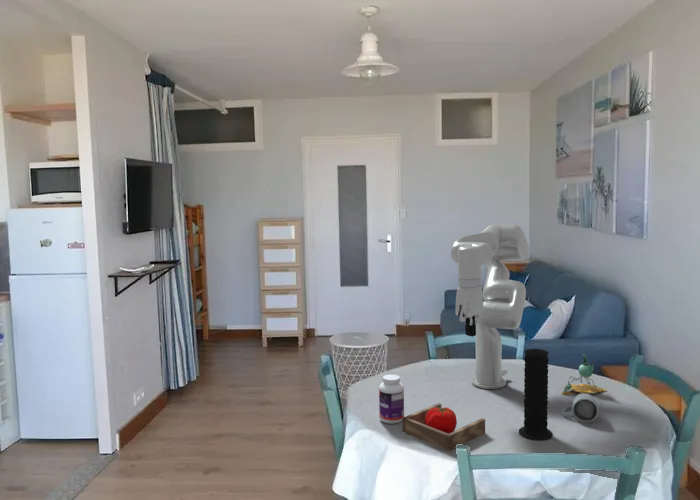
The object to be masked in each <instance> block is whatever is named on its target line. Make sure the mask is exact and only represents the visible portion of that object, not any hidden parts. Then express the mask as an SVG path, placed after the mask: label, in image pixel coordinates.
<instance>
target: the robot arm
mask: <svg viewBox="0 0 700 500" xmlns="http://www.w3.org/2000/svg"><path fill="white" fill-rule="evenodd" d="M529 250H530V247H529V243H528V241H527V237H526V236H525V233H524V231H523V229H522V227H521V226H520V225H518V224H515V223H513V224H512V223H510V224H509V223H508V224H507V223H505V224H503V223H502V224H501V223H494V224H490V225H488V226H487V227H486V228H485V229H483V230H482V231H481V232H478V233H477V232H476V233H473V234H470V235H469V234H468V235H465V236H461V237H459V238H458V239H457V240H455V242H454V243H453V244H452V246H451V249H450V257H451V259H452V261H453V262H454V263H456V264H457V277H458V281H457V283H458V284H457V285H458V287H457V289H456V296H455V316H456V317H459V319H458V320H459V322H460V323H464V324H463V325H464V327H465V335H466V336H468V337H472V338H473V337H475V376H474V377H473V378H471V384H472V386H474V387H476V388H479V389H485V390H495V389H502V388H504V387H505V386H506V383H507V382H506V380H505V379H504V378H503V376H506V375H507V374H508V370H507V369H506V368H504V369H502V355H503V354H502V351H503V350H502V347H503V345H502V342H503V341H502V337H501V334H500V332H499V330H497V329H503V330H505V329H506V330H516V329H518V328H519V327H520V325H521V322H522V318H523V312H524V308H525V304H526V298H527V297H526V295H527V289H526V286H525V284H524V283H523V282H521V281H519V280H509V279H510V275H511V274H510V270H509V269H508V268H507V266H506V265H505V264H504V263H503V262H502V261H515V262H516V261H524V260H526V259H527V258H528V256H529V252H530V251H529ZM482 265H483V266H484V265H486V269H487V273H486V274H487V275H486V277H485V281H484V284H483V285H484V286H483V287H482Z"/></svg>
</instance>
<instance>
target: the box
mask: <svg viewBox="0 0 700 500" xmlns="http://www.w3.org/2000/svg"><path fill="white" fill-rule="evenodd" d="M438 407H439V408H442V403H439V402H438V403H435V404H433V405H430V406H428V407H426V408H423V409H420V410H417V411H416V412H414V413H412V414H411V413H410V414H408V415H406V416H404V417H403V418H402V421H401V424H402V425H401V426H402V433H404V432H405V434H406V433H407V435H409V436H411V435H412V437H414V438H417V439H419V440H421V441H423V442H425V443H428V444H430V445H432V446H436V447H438V448H440V449H442V450H444V451H447V452H451V451H452V450H455V449H456V448H455V447H456V445H457V444H463V445H465V444H467V443H469V442H471V441H473V440H476V439H477V438H479V437H480V436H483V435H484V434H486V418H483V417H481V418H479V419H477V420H475V421H473V422H470V423H469V424H466V425H465V426H462V427H460V428H458V429H455V430H454V431H453V432H451V433H449V434H448V433H445V432H442V431H440V430H437V429H435V428H432V427H430V426H427V425H425V417H426V415H427V412H429V411H430V410H431V409H433V408H438Z"/></svg>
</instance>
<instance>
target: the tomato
mask: <svg viewBox="0 0 700 500" xmlns="http://www.w3.org/2000/svg"><path fill="white" fill-rule="evenodd" d="M457 423H458V421H457V416H456V413H455V412H454V411H453V410H452V409H451V408H449V407H446V406H444V407H441V408H439V407H438V408H433V409H431V410H430V411H429V412H427V415H426V417H425V425H427V426H430V427H432V428H435V429H437V430H440V431H442V432H445V433H448V434H449V433H451V432H453V431H456V429H457Z"/></svg>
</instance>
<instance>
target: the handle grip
mask: <svg viewBox="0 0 700 500" xmlns="http://www.w3.org/2000/svg"><path fill="white" fill-rule="evenodd" d="M548 355H549V351H548V350H546V349H541V348H527V349H525V350H524V358H523V359H524V365H523V366H524V369H523V370H524V379H523V380H524V381H523V382H524V383H523V386H524V390H523V393H524V395H523V397H524V399H523V403H524V404H523V405H524V406H523V407H524V408H523V413H524V414H523V417H524V419H523V426H521V427H520V428H519V429H518V432H517V433H518V435H520V436H521V438H525V439H527V440H530V441H536V442H537V441H539V442H541V441H548V440H551V439H552V438H553V436H554V435H553V432H552V431H551V430H550V429H549V428H548V414H549V411H548V409H549V407H548V403H549V401H548V399H549V396H548V394H549V390H548V389H549V386H548V384H549V357H548Z"/></svg>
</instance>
